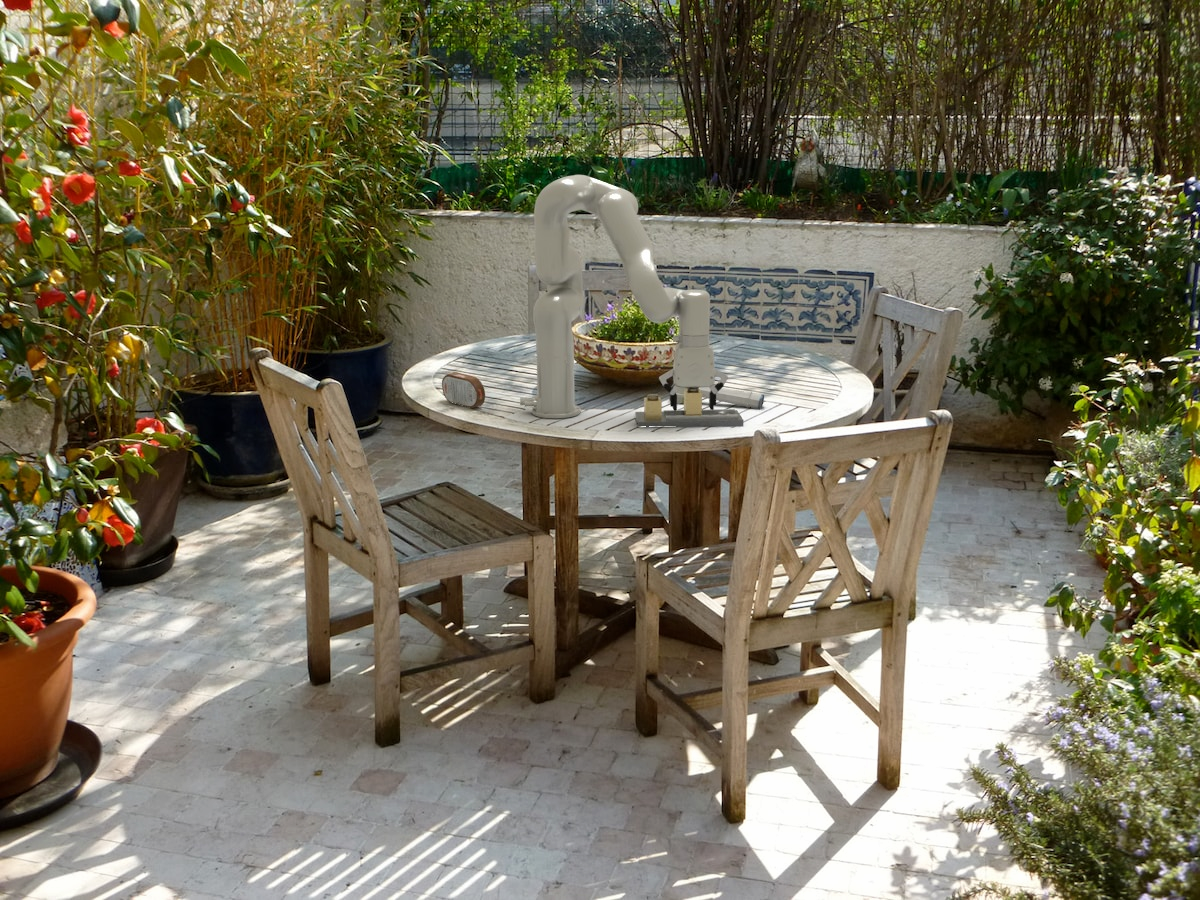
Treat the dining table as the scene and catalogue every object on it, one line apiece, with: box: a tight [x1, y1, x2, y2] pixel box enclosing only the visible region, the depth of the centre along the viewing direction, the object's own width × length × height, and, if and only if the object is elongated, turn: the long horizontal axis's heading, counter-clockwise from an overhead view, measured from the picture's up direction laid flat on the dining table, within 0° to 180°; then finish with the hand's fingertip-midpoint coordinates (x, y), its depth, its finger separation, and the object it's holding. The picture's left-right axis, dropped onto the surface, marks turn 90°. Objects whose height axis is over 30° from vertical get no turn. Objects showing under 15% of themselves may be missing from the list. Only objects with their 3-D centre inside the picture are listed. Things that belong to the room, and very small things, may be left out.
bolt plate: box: [634, 408, 745, 428], centre depth 295 cm, size 26×10×2 cm, turn 93°
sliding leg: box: [683, 387, 703, 415], centre depth 294 cm, size 4×4×7 cm
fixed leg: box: [643, 393, 663, 419], centre depth 294 cm, size 4×4×6 cm
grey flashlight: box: [668, 387, 765, 409], centre depth 312 cm, size 5×7×25 cm
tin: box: [441, 371, 486, 409], centre depth 312 cm, size 15×3×8 cm, turn 47°
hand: (693, 408), depth 295 cm, fingers open, 8 cm apart
